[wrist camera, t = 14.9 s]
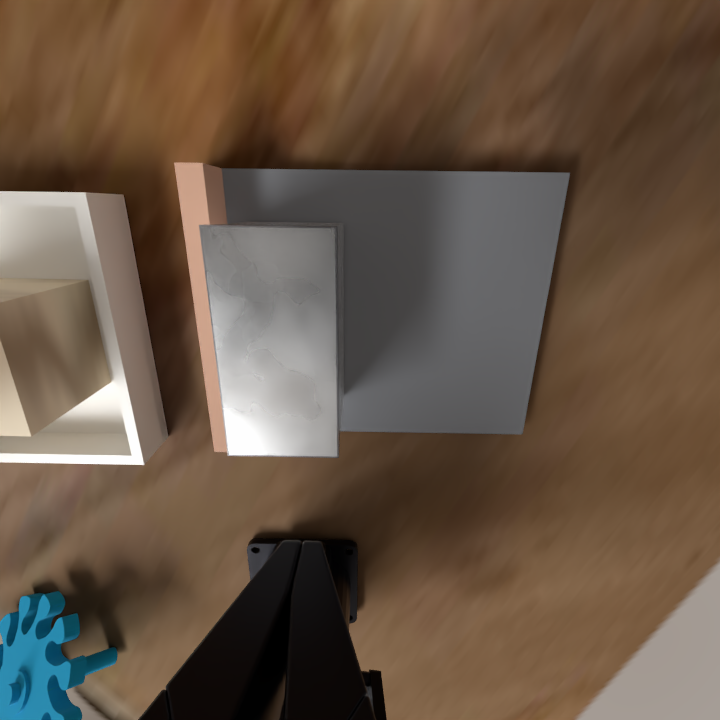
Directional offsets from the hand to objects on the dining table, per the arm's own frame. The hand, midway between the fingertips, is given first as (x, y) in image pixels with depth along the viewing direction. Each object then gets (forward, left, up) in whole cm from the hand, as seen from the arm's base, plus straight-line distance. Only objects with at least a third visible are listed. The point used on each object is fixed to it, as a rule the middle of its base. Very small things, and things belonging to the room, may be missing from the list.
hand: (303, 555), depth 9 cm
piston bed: (+3, -2, -12) cm, 12 cm away
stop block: (+1, +14, -11) cm, 18 cm away
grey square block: (+3, +2, -12) cm, 12 cm away
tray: (+2, +14, -12) cm, 18 cm away
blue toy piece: (-20, +18, -12) cm, 30 cm away
